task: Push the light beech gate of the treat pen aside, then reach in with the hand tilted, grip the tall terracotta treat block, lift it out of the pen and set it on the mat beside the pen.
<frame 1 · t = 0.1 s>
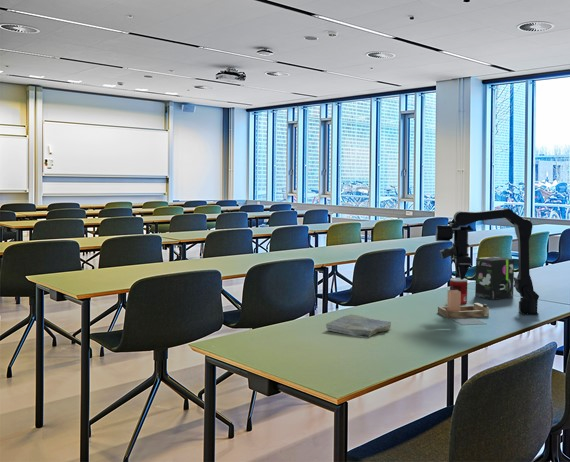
hand: (460, 277, 254), 15 cm above the table, tool pointing down, fingers open, 9 cm apart
treat pen: (460, 315, 248), on the table
gate: (481, 308, 249), point 3 cm above the table, slide at 0.0 cm
fossil: (360, 331, 226), on the table
mat: (468, 322, 236), on the table
box: (494, 297, 286), on the table
canned food: (458, 303, 273), on the table
treat block: (453, 315, 247), resting on treat pen
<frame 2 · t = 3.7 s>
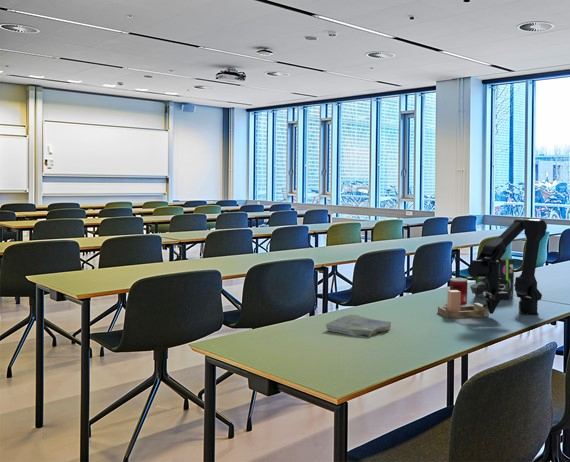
hand: (491, 313, 243), 2 cm above the table, tool pointing down, fingers closed
gate: (481, 308, 249), point 3 cm above the table, slide at 0.0 cm, touching gripper
everything else where it was.
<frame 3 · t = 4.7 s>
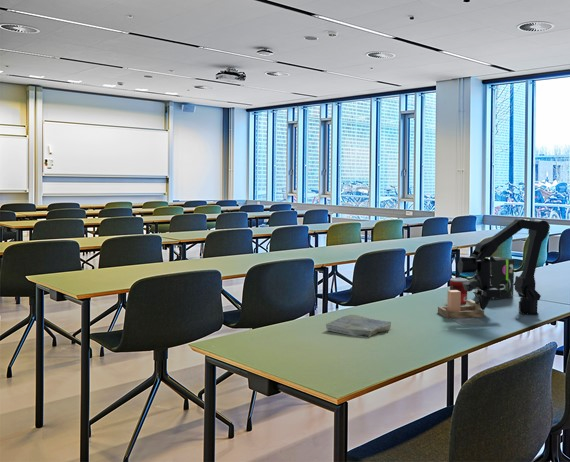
hand: (482, 309, 250), 2 cm above the table, tool pointing down, fingers closed
gate: (473, 304, 256), point 3 cm above the table, slide at 7.1 cm, touching gripper
everything else where it was.
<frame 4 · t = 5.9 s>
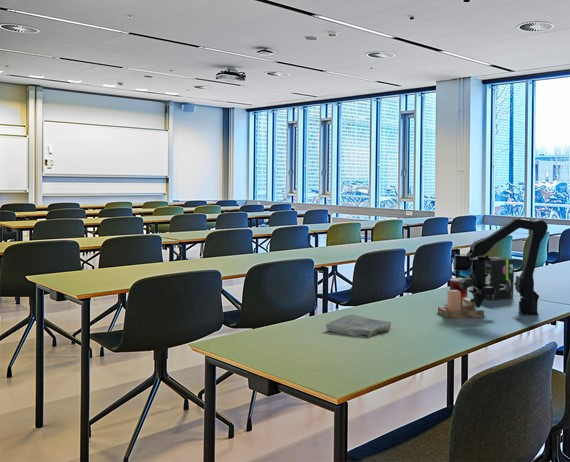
hand: (478, 307, 254), 2 cm above the table, tool pointing down, fingers closed
gate: (469, 302, 260), point 3 cm above the table, slide at 11.3 cm, touching gripper
everything else where it was.
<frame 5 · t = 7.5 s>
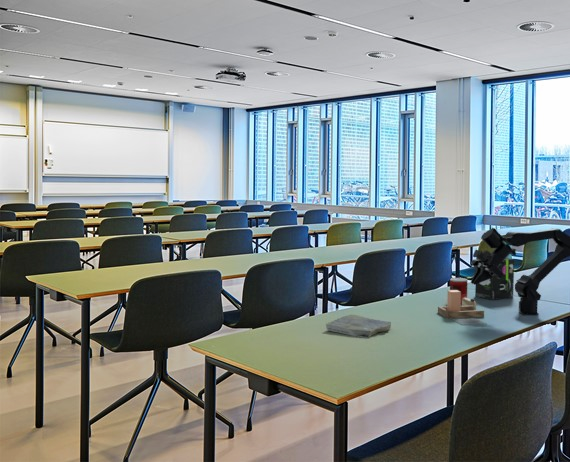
hand: (472, 283, 247), 13 cm above the table, tool tilted 45°, fingers closed
gate: (468, 302, 260), point 3 cm above the table, slide at 11.3 cm
everything else where it was.
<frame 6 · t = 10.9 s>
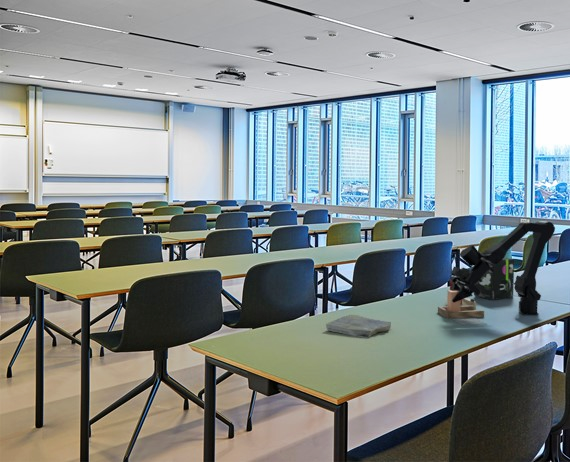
hand: (450, 300, 246), 7 cm above the table, tool tilted 45°, fingers closed on treat block, 4 cm apart
treat block: (453, 315, 247), resting on treat pen, touching gripper
everything else where it was.
when the fingers open (8 cm above the table, at t = 13.8 s): treat block drops 1 cm, resting on mat.
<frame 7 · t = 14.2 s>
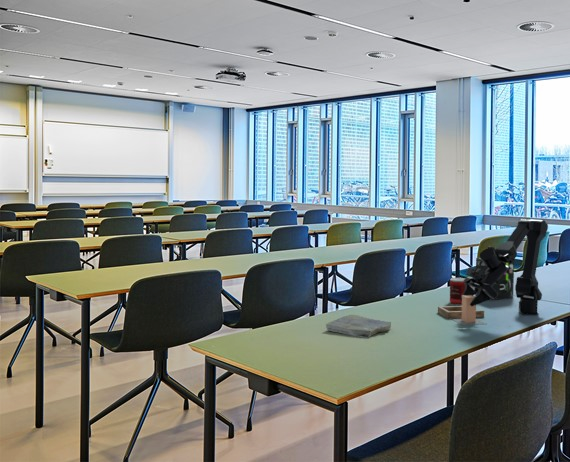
hand: (465, 303, 235), 8 cm above the table, tool tilted 45°, fingers open, 8 cm apart
treat block: (468, 321, 236), point 1 cm above the table, touching mat
everything else where it was.
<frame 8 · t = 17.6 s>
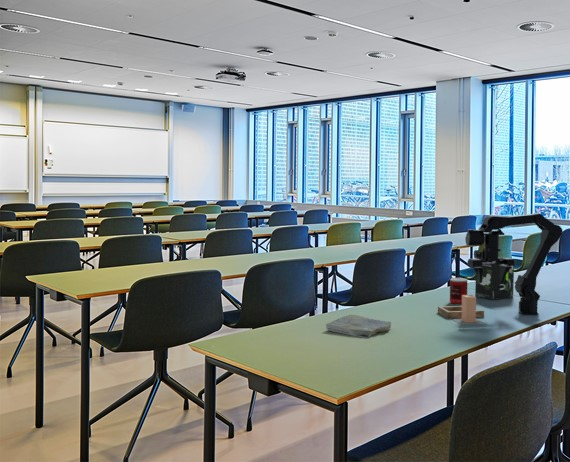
hand: (490, 282, 251), 13 cm above the table, tool pointing down, fingers open, 9 cm apart
nothing on the table moved.
at the end: gate slide at 11.3 cm; treat block inside the target area on the mat (0.0 cm from its centre), point 0.6 cm above the mat's base; the gripper is holding nothing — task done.
